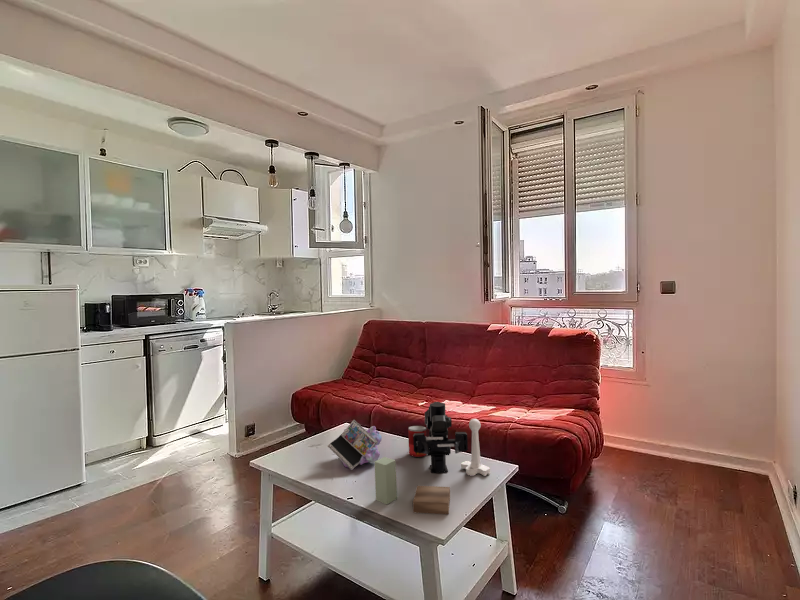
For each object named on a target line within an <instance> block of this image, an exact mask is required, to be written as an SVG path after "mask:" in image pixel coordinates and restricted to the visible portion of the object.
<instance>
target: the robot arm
mask: <svg viewBox="0 0 800 600" xmlns="http://www.w3.org/2000/svg"><path fill="white" fill-rule="evenodd" d="M424 425H426V429H427V430H429V432H428V436H427V437H425V436H424V433H414V435H413V445H414V452H415V453H424V454H426V455H427V457H430V464H429V470H430V473H431V474H434V473H448V472H449V470H448V467H447V461H446V460H447V459H446V458H447V457H446V456H450V455H451V450H452V449H451V448H452V447H454V454H459V453H464V452H467V451H468V450H469V446H468V445H469V444H468V442H469V441H468V433H467V432H466V431H455V432H454V433H455V434H454V435H455V436H454V438H448V436H449V430H448V429H449V428H452V426H453V425H452V417H451V416H448V415H447V414H446V403H444V402H440V401H434V402H431V403H430V404H429V406H428V409H427V410H426V411H425V412H424Z"/></svg>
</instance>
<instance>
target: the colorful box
mask: <svg viewBox="0 0 800 600" xmlns="http://www.w3.org/2000/svg"><path fill="white" fill-rule="evenodd" d="M380 433H381V432H380V431H378V430H377V428H376V426H375V425H373V426H370V428H368V429H367V430H366V429H365V427H363V426H361V424H360V423H358V421H356V420H355V419H353V420H352V421H351V423H349V425H348V426H347V427H346V428H345V429H343V432H342V433H341V434H340V435H339V436H337V437H336V438H335V439H334V440H332V441H331V442H330V443H328V444H327V445H326V446H327V447H328V449H329V450H331V451H332V452H333V454H334V455H336V457H338V459H339V460H340V461H341V462H342V464H343V466H344V467H345V468H349V470H351V471H352V470H354V468H356V467H357V466H358V465H361V466H362V465H363V464H367V463H374V464H375V461H377V460H379V458H380V456H381V453H380V451H379V447H378V446H379V445H380V444H381V442H382V435H381V434H380Z"/></svg>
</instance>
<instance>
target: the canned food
mask: <svg viewBox="0 0 800 600" xmlns="http://www.w3.org/2000/svg"><path fill="white" fill-rule="evenodd" d="M427 430H428V429H427V426H426V427H425V426H422V425H412V426H408V432H407V433H408V436H407V437H408V454H409V456H411V457H416V458H417V457H419V458H420V457H425V456H427V454H424V453H415V452H414V445H413V435H414V433H424V436H425V437H428V436H427Z"/></svg>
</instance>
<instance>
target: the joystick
mask: <svg viewBox="0 0 800 600" xmlns="http://www.w3.org/2000/svg"><path fill="white" fill-rule="evenodd" d="M481 425H482V424H481V422H480V420H479V419H477V418H472V419H470V421H469V422H468V427H469V429H470V430H471V452H470V453H471V455H470V456H471V457H470V459H471V461H469V460H465V461H463V462H461V463H460V467H461V468H460V469H463V470H465V474H466V475H467V476H469V475H470V476H471V477H474V476H476V474H481V475H482V476H484V477H485V476H487V475H488V476H489V475H491V468H490V466H487V465H484V464H483V463H482V461H481V451H480V450H481V449H480V441H479V440H480V439H479V438H480V437H479V430H480V429H481Z"/></svg>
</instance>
